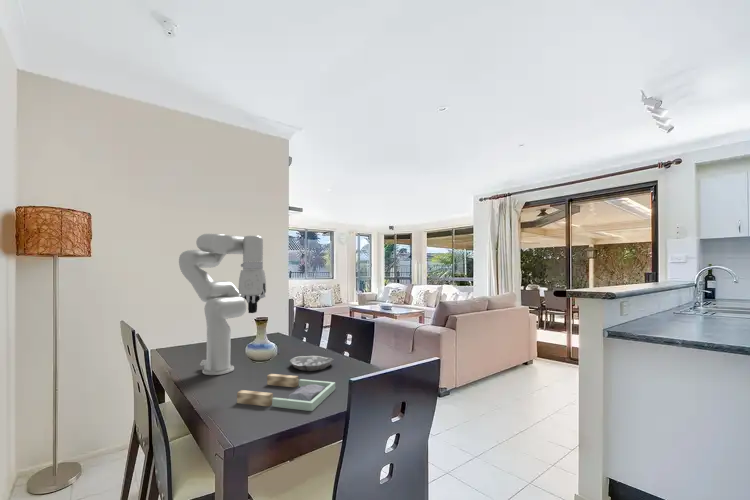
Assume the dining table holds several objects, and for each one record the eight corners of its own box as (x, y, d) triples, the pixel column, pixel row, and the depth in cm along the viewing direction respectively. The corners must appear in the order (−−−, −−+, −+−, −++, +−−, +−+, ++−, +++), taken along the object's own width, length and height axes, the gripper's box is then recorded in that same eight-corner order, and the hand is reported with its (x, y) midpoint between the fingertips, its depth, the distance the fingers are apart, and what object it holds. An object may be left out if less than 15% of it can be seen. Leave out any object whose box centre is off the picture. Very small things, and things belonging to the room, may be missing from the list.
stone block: (286, 409, 120) (312, 407, 117) (284, 394, 121) (310, 392, 118) (304, 398, 131) (328, 395, 128) (302, 384, 132) (326, 381, 129)
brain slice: (282, 372, 155) (282, 365, 155) (297, 361, 172) (297, 355, 172) (326, 374, 152) (326, 367, 152) (336, 363, 169) (336, 356, 169)
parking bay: (272, 406, 118) (272, 398, 118) (300, 385, 137) (300, 379, 137) (312, 411, 114) (312, 403, 114) (335, 389, 133) (335, 382, 133)
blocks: (237, 402, 121) (237, 392, 121) (270, 382, 141) (270, 373, 141) (268, 406, 118) (268, 395, 118) (298, 385, 138) (298, 376, 138)
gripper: (230, 266, 142) (230, 313, 142) (264, 266, 138) (263, 314, 138) (242, 266, 149) (242, 310, 149) (274, 266, 146) (274, 312, 145)
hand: (252, 312), depth 143 cm, fingers closed
